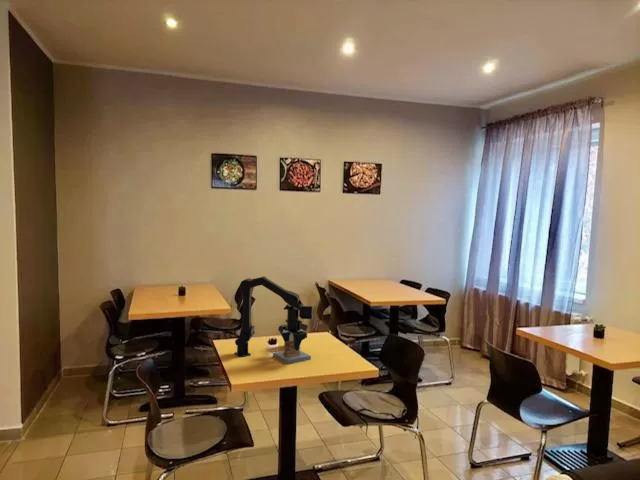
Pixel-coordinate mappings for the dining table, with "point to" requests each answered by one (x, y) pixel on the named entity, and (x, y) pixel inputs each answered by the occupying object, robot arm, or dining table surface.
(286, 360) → the slab
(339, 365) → the dining table surface
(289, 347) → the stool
